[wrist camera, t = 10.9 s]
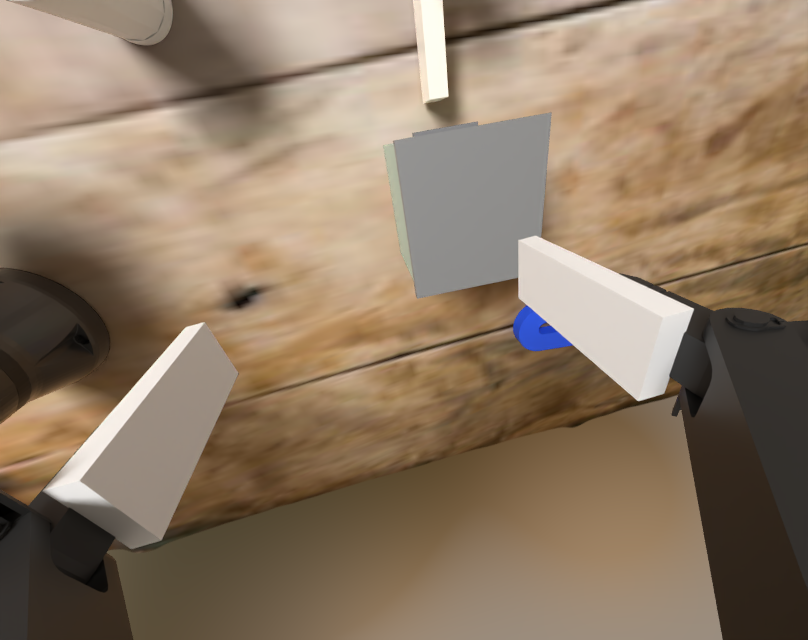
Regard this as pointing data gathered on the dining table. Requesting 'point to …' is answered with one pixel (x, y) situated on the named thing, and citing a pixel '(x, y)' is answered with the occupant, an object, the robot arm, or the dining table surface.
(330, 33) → the dining table surface
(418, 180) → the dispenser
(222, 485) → the dining table surface
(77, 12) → the cup
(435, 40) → the pink striped cream block
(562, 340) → the bracket
